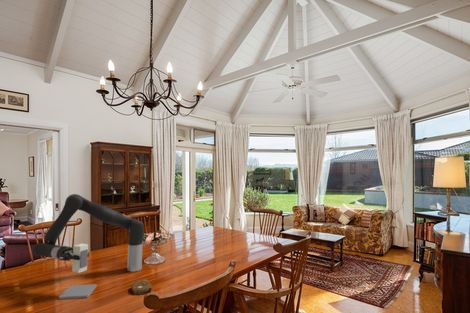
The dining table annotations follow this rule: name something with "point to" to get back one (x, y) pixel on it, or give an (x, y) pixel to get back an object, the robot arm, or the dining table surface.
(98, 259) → the dining table surface
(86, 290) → the slate tile
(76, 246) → the off-white rectangular block
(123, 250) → the dining table surface
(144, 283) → the decorative rock
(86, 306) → the dining table surface
